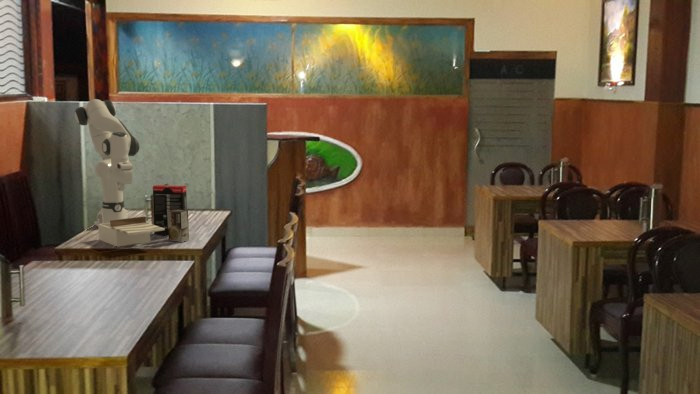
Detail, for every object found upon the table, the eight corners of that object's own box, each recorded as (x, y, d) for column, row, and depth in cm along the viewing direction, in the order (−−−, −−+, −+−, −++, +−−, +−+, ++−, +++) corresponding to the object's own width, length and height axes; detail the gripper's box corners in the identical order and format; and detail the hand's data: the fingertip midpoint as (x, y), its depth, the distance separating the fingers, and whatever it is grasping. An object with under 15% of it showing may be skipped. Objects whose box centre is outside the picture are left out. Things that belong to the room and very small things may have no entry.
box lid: (110, 228, 372) (109, 220, 371) (144, 223, 384) (144, 216, 383) (129, 235, 355) (129, 226, 354) (164, 230, 367) (164, 222, 366)
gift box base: (99, 241, 385) (98, 224, 383) (131, 236, 397) (131, 220, 395) (116, 248, 368) (116, 230, 367) (150, 243, 380) (149, 226, 379)
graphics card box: (188, 234, 403) (187, 184, 399) (184, 236, 397) (182, 186, 392) (158, 233, 405) (156, 184, 401) (153, 236, 398) (151, 186, 394)
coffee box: (189, 240, 387) (188, 210, 385) (181, 242, 381) (181, 212, 379) (175, 238, 391) (174, 208, 389) (167, 241, 385) (166, 210, 383)
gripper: (105, 162, 384) (106, 188, 386) (122, 166, 369) (123, 193, 371) (117, 161, 388) (117, 187, 390) (134, 165, 373) (135, 192, 375)
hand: (120, 190), depth 381 cm, fingers closed
